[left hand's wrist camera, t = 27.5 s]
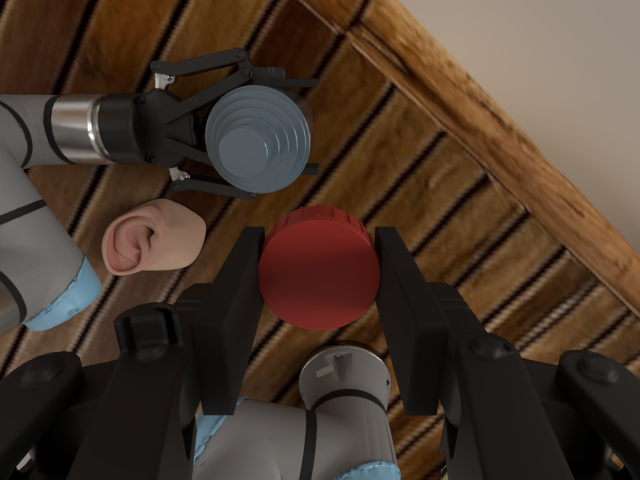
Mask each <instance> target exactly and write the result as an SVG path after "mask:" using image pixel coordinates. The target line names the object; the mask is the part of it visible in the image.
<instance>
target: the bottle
mask: <svg viewBox="0 0 640 480" xmlns="http://www.w3.org/2000/svg"><path fill="white" fill-rule="evenodd" d="M313 132H314V116H313V112H312V109H311V107H310V105H309V104H308V102H307V101H306V100H305V99H304V98H303V97H302V96H301V95H300V94H298V93H297V92H295V91H293V90H290V89H286V88H278V87H269V86H260V85H249V86H243V87H239V88H237V89H234V90H232V91H230V92H228V93H227V94H226V95H224V96H223V97H222V98H221V99H220V100H219V101H218V102H217V103H216V104H215V106H214V107H213V109H212V111H211V112H210V114H209V117H208V120H207V124H206V129H205V143H206V148H207V152H208V155H209V158H210V160H211V162H212V164H213V165H214V167H215V169H216V170H217V171H218V173H219V174H220V175H221V176H222V177H223V178H224V179H225V180H226V181H228V182H229V183H230V184H232V185H233V186H235V187H237V188H239V189H241V190H244V191H247V192H252V193H270V192H275V191H278V190H280V189H282V188H284V187H286V186H288V185H289V184H291V183H292V182H293V181H294V180H295V179H296V178H297V177H298V176H299V175H300V174H301V172H302V171H303V169H304V167H305V165H306V163H307V160H308V157H309V152H310V147H311V142H312V137H313Z"/></svg>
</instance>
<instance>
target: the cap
mask: <svg viewBox="0 0 640 480" xmlns="http://www.w3.org/2000/svg"><path fill="white" fill-rule="evenodd" d="M262 249H263V251H262V254H261V256H260V259H259V262H258V269H259V284H260V293H261V295H262V298H263V299H264V301H265V303H266V304H267V306H268V307H269V308H270V309H271V310H272V311H273V312H274V313H275V314H276V315H277V316H278V317H280V318H281V319H282V320H284V321H286V322H287V323H289V324H292V325H294V326H297V327H300V328H303V329H309V330H329V329H334V328H338V327H341V326H344V325H346V324H348V323H350V322H352V321H354V320H355V319H357V318H358V317H360V316H361V315H362V314H363V313H364V312H365V311H366V310H367V309H368V308H369V307H370V305H371V304H372V302H373V301H374V299H375V297H376V295H377V292H378V289H379V285H380V278H381V271H380V264H379V262H380V260H379V257H378V254H377V251H376V249H375V245H374V242H373V240H372V237H371V234H370V233H369V234H368V232H367V231H366V229H365V228H364V226H363V224H362V222H361V221H360V222H359V221H358V220H357V219H356V218H355V217H353V216H352V215H350V213H349V212H348V213H347V212H345V211H343V210H340V209H337V208H335V207H334V206H333V207H329V206H319V205H317V206H309V207H304V208H303V207H301V208H300V209H298V210H295V211H293V212H291V213H289V214H288V213H287V214H286V216H285V217H283V218H282V219H281V220H280V221H279V222H278V223H275V224H274V227H273V229H272V230H271V232H270V234H269V236H268V235H267V236H266V239H265V241H264V244H263V246H262Z"/></svg>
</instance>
